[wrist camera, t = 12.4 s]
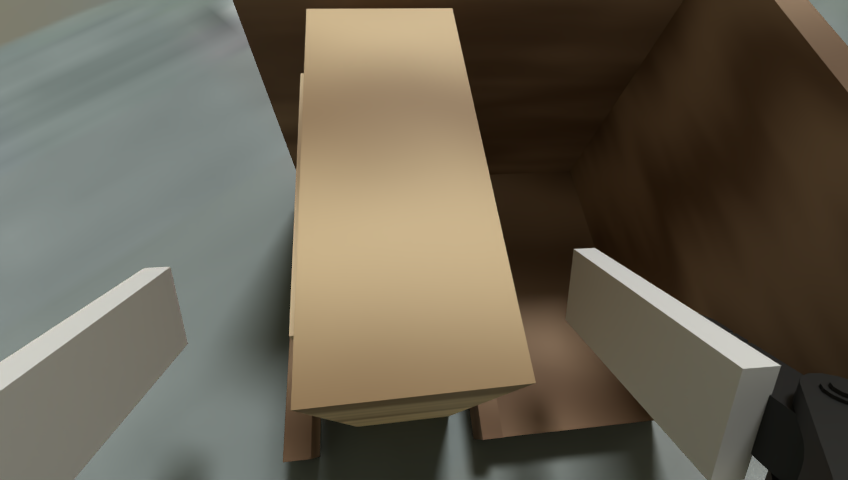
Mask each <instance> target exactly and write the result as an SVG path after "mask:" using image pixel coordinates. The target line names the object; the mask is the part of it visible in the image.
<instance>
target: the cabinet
mask: <svg viewBox="0 0 848 480" xmlns="http://www.w3.org/2000/svg"><path fill="white" fill-rule="evenodd" d="M233 2H234V5H235V8H236V10H237V13H238V16H239V18H240V21H241V24H242V26H243V29H244V32H245V34H246V37H247V40H248V43H249V45H250V48H251V51H252V53H253V56H254V59H255V61H256V64H257V67H258V69H259V72H260V75H261V77H262V80H263V83H264V85H265V88H266V91H267V93H268V96H269V99H270V101H271V104H272V107H273V110H274V112H275V115H276V118H277V120H278V123H279V126H280V128H281V131H282V134H283V136H284V139H285V142H286V144H287V147H288V150H289V152H290V155H291V158H292V160H293V163H294V166H295V168H296V167H297V145H298V122H299V100H300V77H301V73H304V60H305V34H306V9H397V8H452V9H453V13H454V18H455V22H456V27H457V31H458V36H459V40H460V45H461V49H462V54H463V58H464V63H465V67H466V72H467V76H468V81H469V85H470V90H471V94H472V99H473V103H474V108H475V112H476V117H477V121H478V126H479V130H480V135H481V139H482V143H483V148H484V152H485V157H486V161H487V166H488V170H489V175H490V179H491V184H492V188H493V193H494V197H495V202H496V206H497V211H498V215H499V220H500V224H501V229H502V233H503V238H504V242H505V247H506V251H507V256H508V260H509V265H510V269H511V273H512V278H513V282H514V287H515V291H516V296H517V300H518V305H519V309H520V314H521V318H522V323H523V327H524V332H525V336H526V341H527V345H528V350H529V354H530V359H531V363H532V368H533V372H534V377H535V381H536V383H535V384H532V385H530V386H527V387H524V388H522V389H519V390H516V391H514V392H511V393H509V394H506V395H503V396H501V397H498V398H495V399H493V400H490V401H487V402H485V403H482V404H479V405H477V406H474V407H472V408H469V409H470V416H471V423H472V431H473V438H474V439H475V440H486V439H495V438H503V437H509V436H518V435H527V434H536V433H545V432H554V431H563V430H572V429H581V428H589V427H598V426H607V425H616V424H625V423H634V422H643V421H653V420H654V419H653V418H652V417H651V416H650V415H649V414H648V413H647V411H646V410H645V409H644V408H643V407H642V406H641V405H640V404H639V402H638V401H637V400H636V399H635V398H634V397H633V396H632V395H631V393H630V392H629V391H628V390H627V389H626V388H625V387H624V385H623V384H622V383H621V382H620V381H619V380H618V379H617V378H616V376H615V375H614V374H613V373H612V372H611V371H610V370H609V369H608V367H607V366H606V365H605V364H604V363H603V362H602V361H601V360H600V358H599V357H598V356H597V355H596V354H595V353H594V352H593V351H592V349H591V348H590V347H589V346H588V345H587V344H586V343H585V342H584V340H583V339H582V338H581V337H580V336H579V335H578V334H577V333H576V331H575V330H574V329H573V328H572V327H571V326H570V325H569V324H568V322H567V321H566V320H565V319H566V310H567V302H568V293H569V285H570V276H571V268H572V259H573V251H574V249H583V248H596V249H597V250H599V251H601V252H602V253H604V254H605V255H607V256H608V257H610V258H612V259H613V260H615V261H616V262H618V263H619V264H621V265H623V266H624V267H626V268H627V269H629V270H631V271H632V272H634V273H635V274H637V275H638V276H640V277H642V278H643V279H645V280H646V281H648V282H650V283H651V284H653V285H654V286H656V287H657V288H659V289H661V290H662V291H664V292H665V293H667V294H668V295H670V296H672V297H673V298H675V299H676V300H678V301H680V302H681V303H683V304H684V305H686V306H687V307H689V308H691V309H692V310H694V311H695V312H697V313H699V314H702V315H704V316H707V317H709V318H712V319H714V320H716V321H718V322H719V323H721V324H722V325H724V326H726V327H727V328H729V329H730V330H732V331H733V333H737V334H738V335H740V336H742V337H743V338H745V339H747V340H748V343H753V344H755V345H756V346H758V347H759V348H761V349H763V350H764V351H766V352H767V353H769V354H771V355H772V356H774V357H776V358H777V359H779V360H780V361H782V362H784V363H785V364H787V365H788V366H790V367H792V368H793V369H795V370H796V371H798V372H800V373H801V374H803V375H805V374H808V373H823V374H829V375H834V376H839V377H842V378H845V379H848V46H847V45H846V44H845V42H844V41H843V40H842V39H841V38H840V37H839V35H838V34H837V33H836V32H835V31H834V30H833V28H832V27H831V26H830V25H829V24H828V23H827V21H826V20H825V19H824V18H823V17H822V16H821V14H820V13H819V12H818V11H817V10H816V9H815V7H814V6H813V5H812V4H811V3H810V2H809V1H808V0H233ZM292 366H293V339H292V338H290V342H289V361H288V379H287V397H286V415H285V433H284V451H283V462H290V461H299V460H308V459H313V458H317V457H320V436H321V418H319V417H315V416H311V415H307V414H303V413H299V412H295V411H291V391H292Z"/></svg>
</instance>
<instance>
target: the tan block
mask: <svg viewBox="0 0 848 480" xmlns="http://www.w3.org/2000/svg"><path fill="white" fill-rule="evenodd" d="M289 337H290V338H292V339H293V366H292V391H291V411H295V412H299V413H303V414H307V415H311V416H315V417H319V418H323V419H327V420H331V421H336V422H340V423H344V424H348V425H352V426H356V427H361V426H369V425H378V424H386V423H395V422H403V421H412V420H420V419H429V418H437V417H446V416H450V415H453V414H456V413H458V412H461V411H464V410H466V409H469V408H472V407H474V406H477V405H479V404H482V403H485V402H487V401H490V400H493V399H495V398H498V397H501V396H503V395H506V394H509V393H511V392H514V391H516V390H519V389H522V388H524V387H527V386H530V385H532V384H535V383H536V381H535V377H534V372H533V368H532V363H531V359H530V354H529V350H528V345H527V341H526V336H525V332H524V327H523V323H522V318H521V314H520V309H519V305H518V300H517V296H516V291H515V287H514V282H513V278H512V273H511V269H510V265H509V260H508V256H507V251H506V247H505V242H504V238H503V233H502V229H501V224H500V220H499V215H498V211H497V206H496V202H495V197H494V193H493V188H492V184H491V179H490V175H489V170H488V166H487V161H486V157H485V152H484V148H483V143H482V139H481V135H480V130H479V126H478V121H477V117H476V112H475V108H474V103H473V99H472V94H471V90H470V85H469V81H468V76H467V72H466V67H465V63H464V58H463V54H462V49H461V45H460V40H459V36H458V31H457V27H456V22H455V18H454V13H453V9H452V8H397V9H306V34H305V60H304V73H301V77H300V100H299V122H298V145H297V167H296V190H295V212H294V235H293V257H292V280H291V302H290V325H289Z"/></svg>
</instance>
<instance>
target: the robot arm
mask: <svg viewBox="0 0 848 480" xmlns="http://www.w3.org/2000/svg"><path fill="white" fill-rule="evenodd" d="M565 320H566V321H567V322H568V324H569V325H570V326H571V327H572V328H573V329H574V330H575V331H576V333H577V334H578V335H579V336H580V337H581V338H582V339H583V340H584V342H585V343H586V344H587V345H588V346H589V347H590V348H591V349H592V351H593V352H594V353H595V354H596V355H597V356H598V357H599V358H600V360H601V361H602V362H603V363H604V364H605V365H606V366H607V367H608V369H609V370H610V371H611V372H612V373H613V374H614V375H615V376H616V378H617V379H618V380H619V381H620V382H621V383H622V384H623V385H624V387H625V388H626V389H627V390H628V391H629V392H630V393H631V395H632V396H633V397H634V398H635V399H636V400H637V401H638V402H639V404H640V405H641V406H642V407H643V408H644V409H645V410H646V411H647V413H648V414H649V415H650V416H651V417H652V418H653V419H654V420H655V422H656V423H657V424H658V425H659V426H660V427H661V428H662V429H663V431H664V432H665V433H666V434H667V435H668V436H669V437H670V438H671V440H672V441H673V442H674V443H675V444H676V445H677V446H678V447H679V449H680V450H681V451H682V452H683V453H684V454H685V455H686V456H687V458H688V459H689V460H690V461H691V462H692V463H693V464H694V466H695V467H696V468H697V469H698V470H699V471H700V472H701V473H702V475H703V476H704V477H705V478H706V479H707V480H742V479H745V476H746V472H747V469H748V466H749V463H750V460H751V457H752V455H753V456H754V457H755V458H756V459H757V460H758V461H759V462H760V463H761V464H762V465H764V466H765V467H766V468H767V469H768V472H767V475H766V478H765V480H848V379H845V378H842V377H839V376H834V375H829V374H823V373H808V374H805V375H803V374H801V373H800V372H798V371H796V370H795V369H793V368H792V367H790V366H788V365H787V364H785V363H784V362H782V361H780V360H779V359H777V358H776V357H774V356H772V355H771V354H769V353H767V352H766V351H764V350H763V349H761V348H759V347H758V346H756V345H755V344H753V343H748V340H747V339H745V338H743V337H742V336H740V335H738V334H737V333H733V331H732V330H730V329H729V328H727V327H726V326H724V325H722V324H721V323H719V322H718V321H716V320H714V319H712V318H709V317H707V316H704V315H702V314H699V313H697V312H695V311H694V310H692V309H691V308H689V307H687V306H686V305H684V304H683V303H681V302H680V301H678V300H676V299H675V298H673V297H672V296H670V295H668V294H667V293H665V292H664V291H662V290H661V289H659V288H657V287H656V286H654V285H653V284H651V283H650V282H648V281H646V280H645V279H643V278H642V277H640V276H638V275H637V274H635V273H634V272H632V271H631V270H629V269H627V268H626V267H624V266H623V265H621V264H619V263H618V262H616V261H615V260H613V259H612V258H610V257H608V256H607V255H605V254H604V253H602V252H601V251H599V250H597V249H596V248H583V249H574V251H573V259H572V268H571V276H570V285H569V293H568V302H567V310H566V319H565ZM187 344H188V342H187V338H186V334H185V329H184V325H183V320H182V316H181V312H180V307H179V303H178V298H177V294H176V290H175V285H174V281H173V277H172V272H171V268H170V267H157V268H144V269H142V270H141V271H139V272H137V273H136V274H134V275H133V276H131V277H130V278H128V279H127V280H125V281H124V282H122V283H121V284H119V285H118V286H116V287H115V288H113V289H111V290H110V291H108V292H107V293H105V294H104V295H102V296H101V297H99V298H98V299H96V300H95V301H93V302H92V303H90V304H89V305H87V306H85V307H84V308H82V309H81V310H79V311H78V312H76V313H75V314H73V315H72V316H70V317H69V318H67V319H66V320H64V321H63V322H61V323H59V324H58V325H56V326H55V327H53V328H52V329H50V330H49V331H47V332H46V333H44V334H43V335H41V336H40V337H38V338H36V339H35V340H33V341H32V342H30V343H29V344H27V345H26V346H24V347H23V348H21V349H20V350H18V351H17V352H15V353H14V354H12V355H10V356H9V357H7V358H6V359H4V360H3V361H1V362H0V480H74V479H75V477H76V476H77V475H78V474H79V473H80V471H81V470H82V469H83V468H84V467H85V465H86V464H87V463H88V462H89V461H90V459H91V458H92V457H93V456H94V455H95V454H96V452H97V451H98V450H99V449H100V448H101V446H102V445H103V444H104V443H105V442H106V440H107V439H108V438H109V437H110V436H111V434H112V433H113V432H114V431H115V430H116V429H117V427H118V426H119V425H120V424H121V423H122V421H123V420H124V419H125V418H126V417H127V415H128V414H129V413H130V412H131V411H132V409H133V408H134V407H135V406H136V405H137V404H138V402H139V401H140V400H141V399H142V398H143V396H144V395H145V394H146V393H147V392H148V390H149V389H150V388H151V387H152V386H153V384H154V383H155V382H156V381H157V380H158V379H159V377H160V376H161V375H162V374H163V373H164V371H165V370H166V369H167V368H168V367H169V365H170V364H171V363H172V362H173V361H174V359H175V358H176V357H177V356H178V355H179V354H180V352H181V351H182V350H183V349H184V348H185V346H186V345H187Z"/></svg>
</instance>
